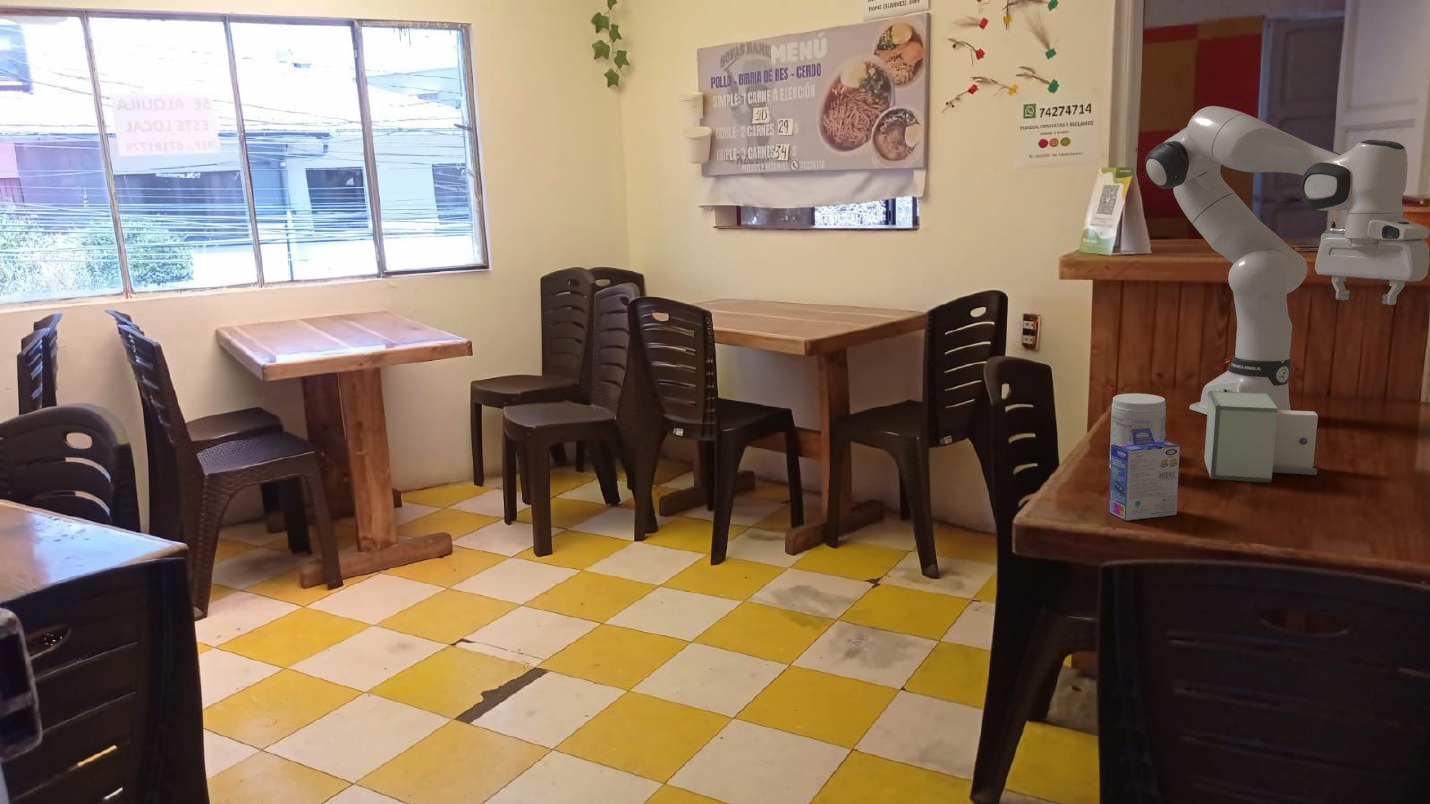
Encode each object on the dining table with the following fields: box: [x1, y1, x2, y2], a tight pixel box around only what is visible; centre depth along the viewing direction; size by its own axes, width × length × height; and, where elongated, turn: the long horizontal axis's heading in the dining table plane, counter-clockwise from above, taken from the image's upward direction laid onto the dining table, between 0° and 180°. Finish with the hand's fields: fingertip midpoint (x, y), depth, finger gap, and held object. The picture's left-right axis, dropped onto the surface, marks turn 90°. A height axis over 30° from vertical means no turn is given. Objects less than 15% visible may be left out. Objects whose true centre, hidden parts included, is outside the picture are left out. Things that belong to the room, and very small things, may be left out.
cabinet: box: [1203, 391, 1318, 484], centre depth 186 cm, size 18×15×14 cm
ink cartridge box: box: [1109, 428, 1181, 521], centre depth 165 cm, size 10×6×14 cm, turn 102°
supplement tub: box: [1109, 393, 1167, 470], centre depth 189 cm, size 10×10×15 cm
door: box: [1273, 410, 1319, 468], centre depth 188 cm, size 7×4×11 cm, turn 69°
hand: (1364, 301), depth 188 cm, fingers open, 8 cm apart
